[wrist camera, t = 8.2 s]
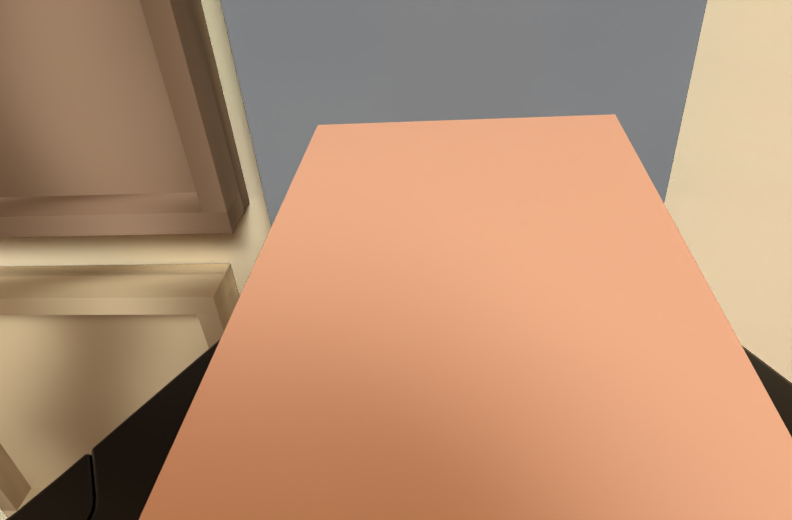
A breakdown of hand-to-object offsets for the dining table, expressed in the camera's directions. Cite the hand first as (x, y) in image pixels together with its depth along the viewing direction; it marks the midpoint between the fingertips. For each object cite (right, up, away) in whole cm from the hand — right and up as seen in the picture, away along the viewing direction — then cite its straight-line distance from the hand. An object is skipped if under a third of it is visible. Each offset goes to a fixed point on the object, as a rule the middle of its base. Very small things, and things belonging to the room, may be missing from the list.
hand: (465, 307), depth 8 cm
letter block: (0, +1, +1) cm, 2 cm away
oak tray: (-11, -4, +13) cm, 17 cm away
